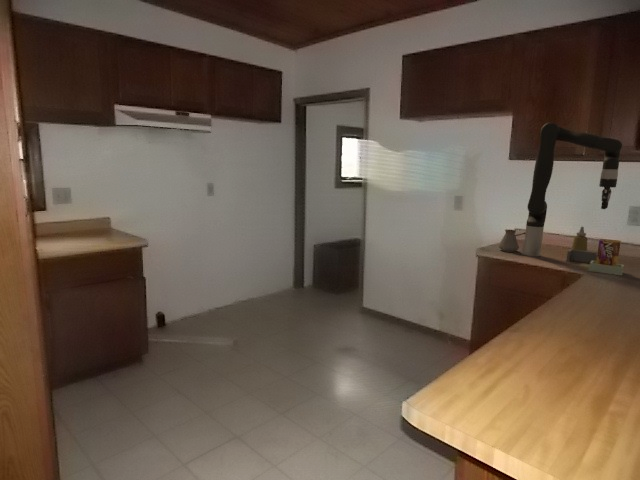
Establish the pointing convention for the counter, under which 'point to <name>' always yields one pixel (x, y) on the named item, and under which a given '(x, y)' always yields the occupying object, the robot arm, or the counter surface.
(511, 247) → the coffee pot
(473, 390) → the counter surface
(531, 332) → the counter surface
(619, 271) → the tray
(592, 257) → the bay
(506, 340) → the counter surface
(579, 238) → the squeeze bottle
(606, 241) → the candy box
